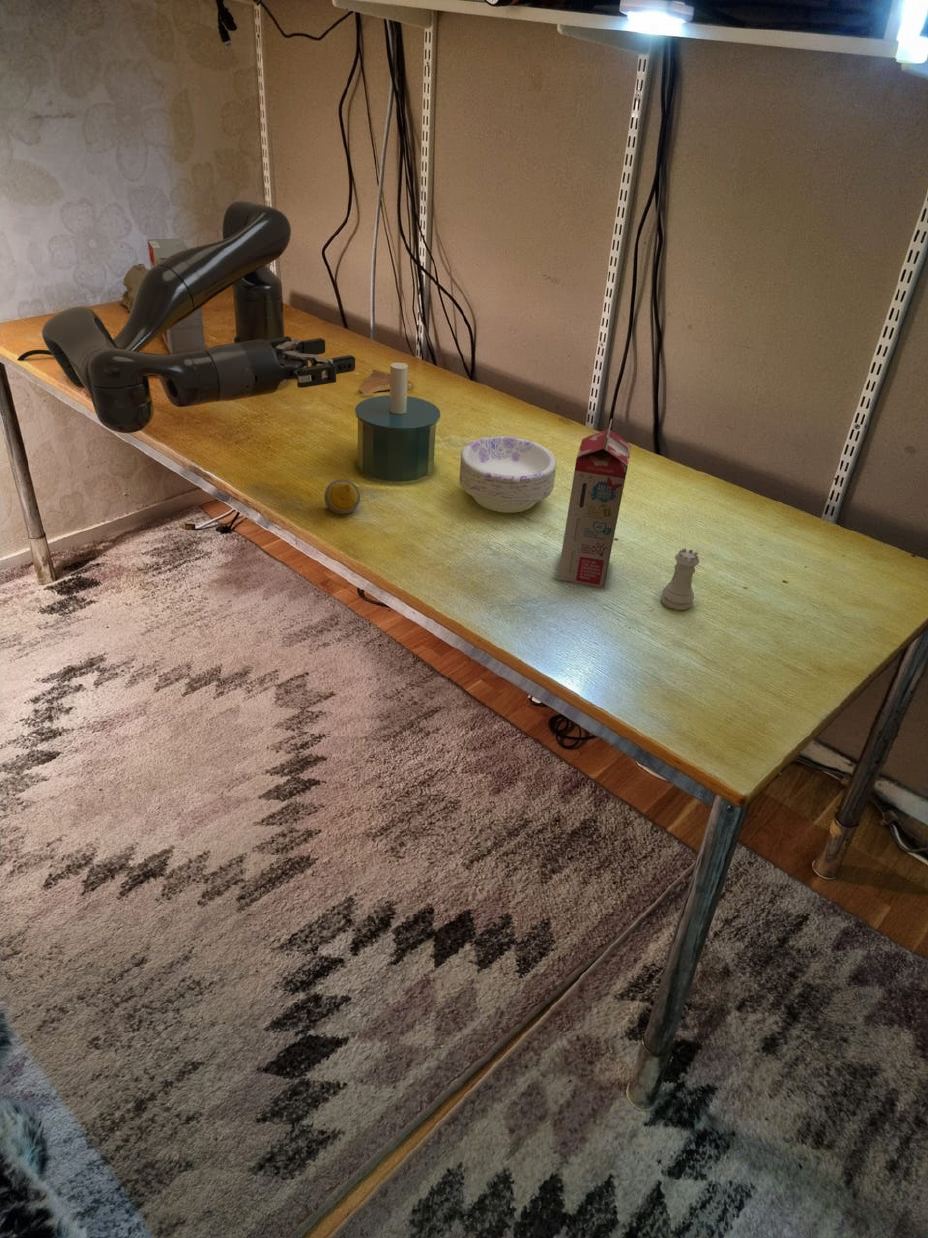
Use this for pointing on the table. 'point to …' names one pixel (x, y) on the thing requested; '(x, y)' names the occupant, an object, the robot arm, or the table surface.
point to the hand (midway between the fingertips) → (338, 353)
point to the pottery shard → (378, 383)
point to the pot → (395, 453)
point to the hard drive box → (191, 328)
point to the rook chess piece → (681, 582)
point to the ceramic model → (133, 284)
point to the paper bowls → (507, 473)
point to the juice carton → (594, 508)
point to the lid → (397, 406)
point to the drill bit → (342, 497)
